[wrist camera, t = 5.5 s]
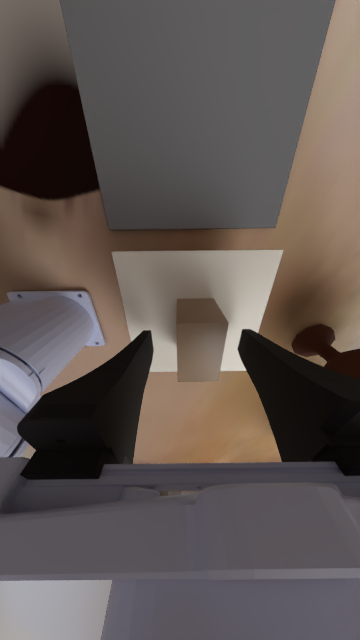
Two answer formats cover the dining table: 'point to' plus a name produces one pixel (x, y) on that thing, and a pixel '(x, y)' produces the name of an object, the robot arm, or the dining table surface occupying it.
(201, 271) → the lid
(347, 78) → the dining table surface
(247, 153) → the mat
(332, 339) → the ice cream bowl
